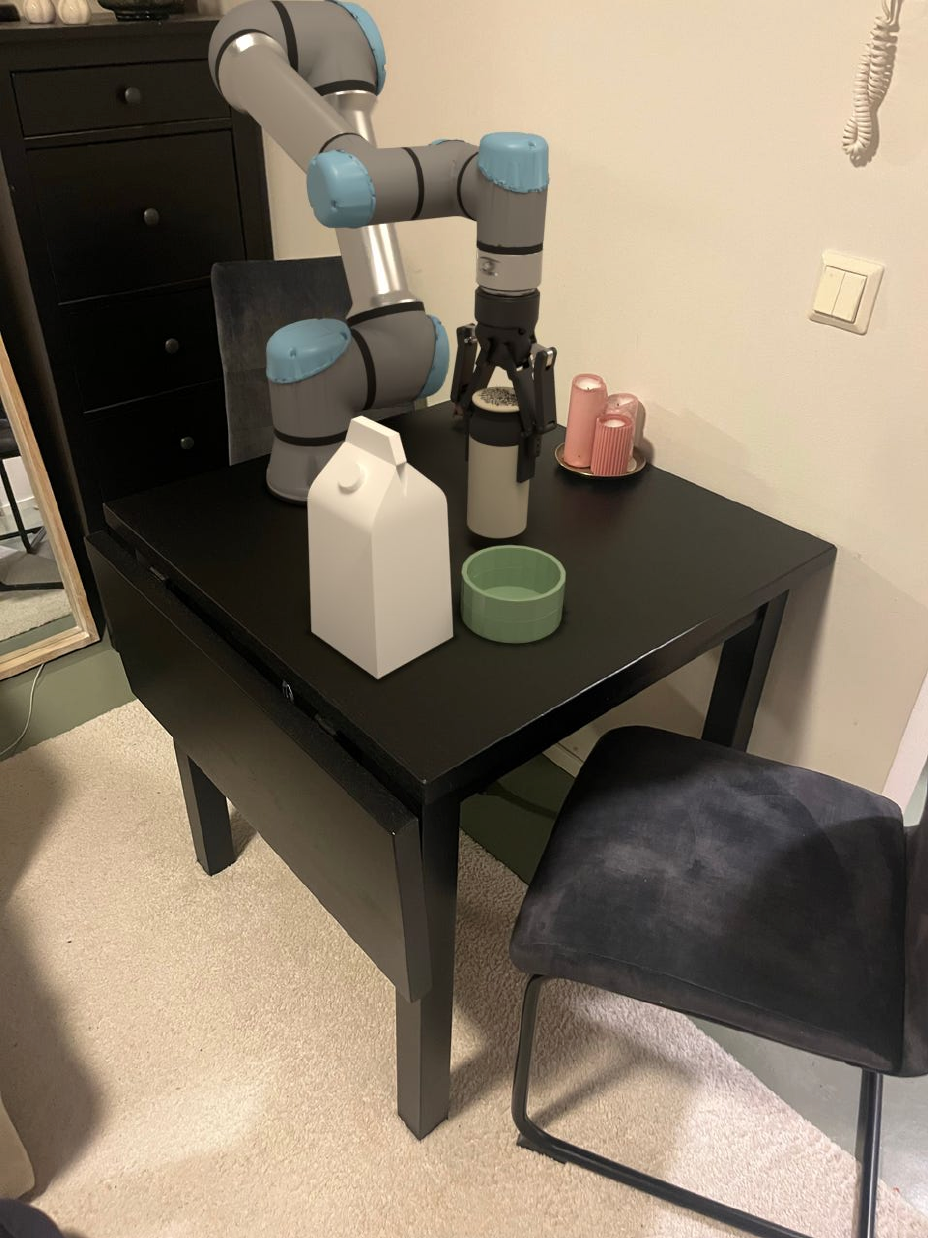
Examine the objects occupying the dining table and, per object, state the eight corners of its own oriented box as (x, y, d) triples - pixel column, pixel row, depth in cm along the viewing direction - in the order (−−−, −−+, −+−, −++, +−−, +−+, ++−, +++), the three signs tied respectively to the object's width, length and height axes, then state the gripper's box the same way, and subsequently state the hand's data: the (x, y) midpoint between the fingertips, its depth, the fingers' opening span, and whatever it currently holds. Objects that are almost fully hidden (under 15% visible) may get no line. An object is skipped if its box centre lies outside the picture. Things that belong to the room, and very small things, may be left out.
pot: (440, 613, 109) (440, 572, 106) (505, 575, 117) (507, 534, 113) (517, 656, 103) (520, 613, 99) (581, 612, 110) (586, 571, 107)
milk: (453, 636, 105) (457, 428, 90) (377, 679, 99) (368, 462, 84) (386, 594, 112) (379, 394, 97) (311, 631, 106) (292, 423, 90)
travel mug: (475, 543, 117) (479, 411, 107) (460, 514, 123) (463, 387, 113) (533, 537, 119) (543, 406, 108) (516, 508, 125) (524, 383, 115)
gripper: (419, 275, 106) (421, 452, 119) (560, 313, 95) (544, 505, 108) (462, 263, 111) (459, 436, 124) (601, 299, 100) (581, 484, 113)
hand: (499, 468), depth 116 cm, fingers closed on travel mug, 8 cm apart
